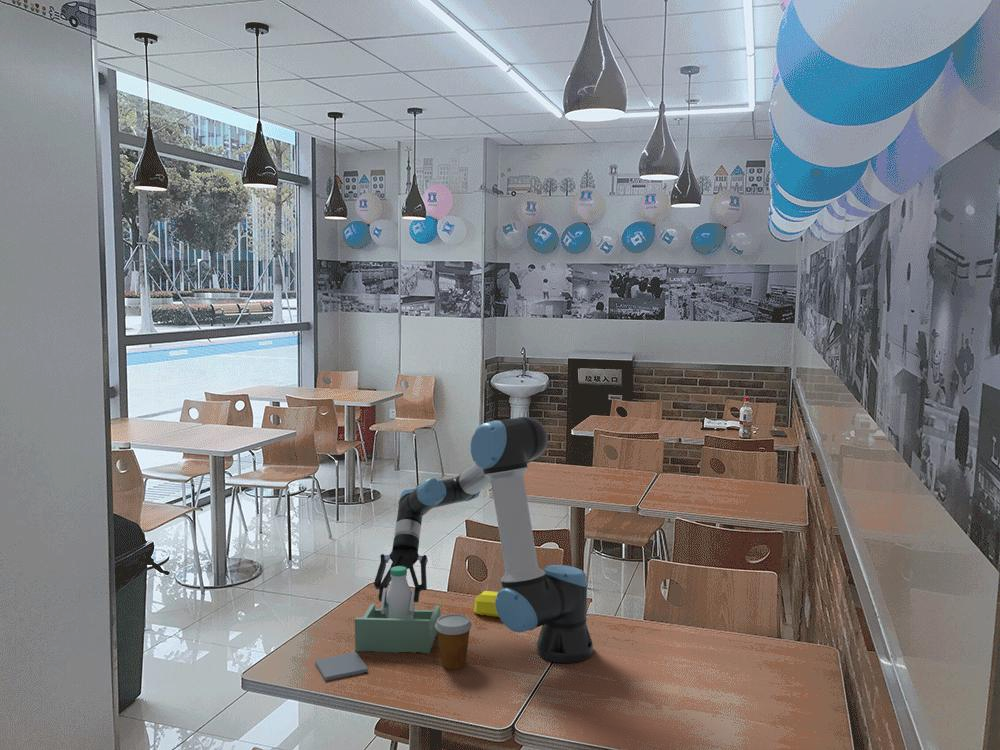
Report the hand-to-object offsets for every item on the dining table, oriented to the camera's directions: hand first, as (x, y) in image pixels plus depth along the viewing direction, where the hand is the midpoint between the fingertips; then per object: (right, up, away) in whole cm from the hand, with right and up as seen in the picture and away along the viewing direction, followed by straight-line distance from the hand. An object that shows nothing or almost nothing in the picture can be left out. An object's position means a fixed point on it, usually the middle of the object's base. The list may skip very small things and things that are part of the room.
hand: (396, 612), depth 231 cm
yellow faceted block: (+29, -7, +20) cm, 36 cm away
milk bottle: (0, -8, +4) cm, 9 cm away
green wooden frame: (0, -8, +4) cm, 9 cm away
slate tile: (-13, -10, -15) cm, 22 cm away
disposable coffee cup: (+17, -10, -13) cm, 24 cm away
